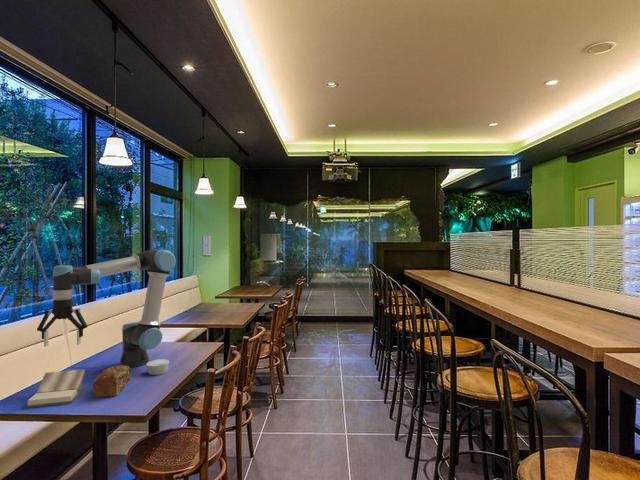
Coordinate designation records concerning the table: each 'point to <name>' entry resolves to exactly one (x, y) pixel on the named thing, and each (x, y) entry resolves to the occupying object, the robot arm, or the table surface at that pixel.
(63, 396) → the floor base
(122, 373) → the bread
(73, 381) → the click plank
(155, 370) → the ramekin
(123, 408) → the table surface
